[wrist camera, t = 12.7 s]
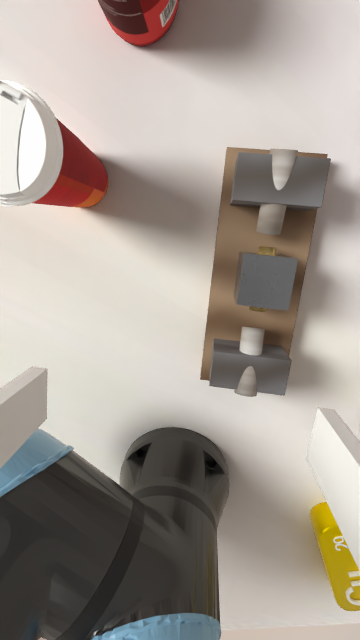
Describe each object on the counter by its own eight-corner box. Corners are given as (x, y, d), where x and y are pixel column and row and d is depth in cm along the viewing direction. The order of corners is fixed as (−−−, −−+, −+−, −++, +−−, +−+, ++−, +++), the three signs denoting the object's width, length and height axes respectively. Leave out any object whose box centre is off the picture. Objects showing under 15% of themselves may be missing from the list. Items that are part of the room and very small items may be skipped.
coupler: (240, 243, 34) (245, 244, 29) (287, 248, 33) (299, 249, 29) (232, 302, 36) (235, 312, 31) (276, 307, 35) (286, 318, 30)
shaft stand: (278, 382, 39) (293, 412, 33) (200, 372, 40) (198, 400, 33) (320, 159, 33) (349, 137, 26) (226, 152, 33) (230, 129, 27)
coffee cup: (64, 126, 34) (-42, 44, 20) (130, 163, 35) (71, 109, 20) (38, 197, 37) (-75, 170, 22) (99, 231, 37) (28, 226, 23)
